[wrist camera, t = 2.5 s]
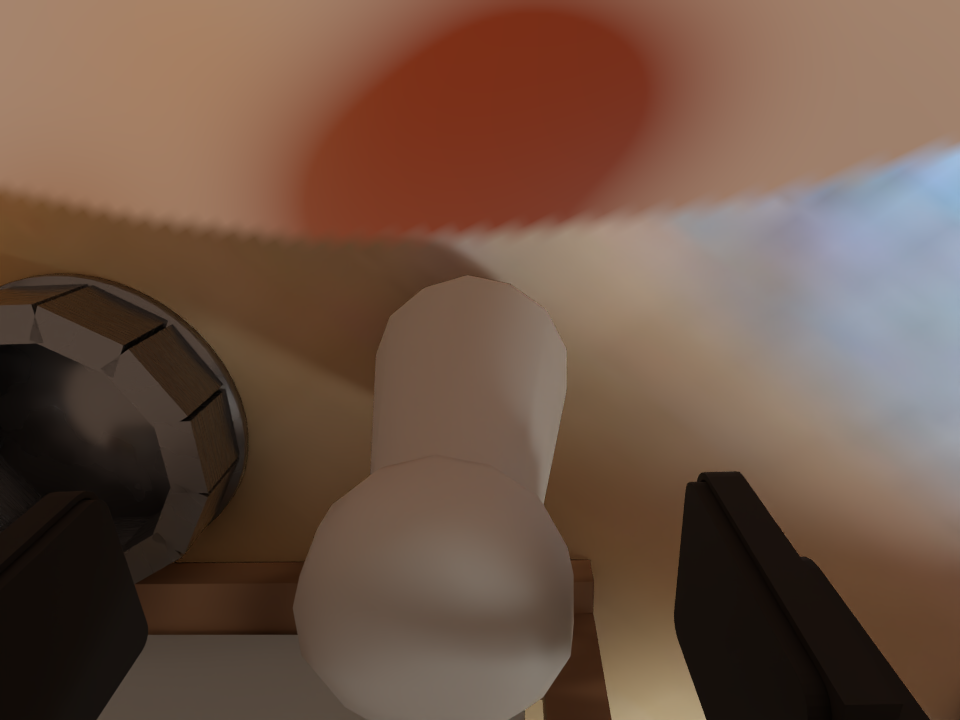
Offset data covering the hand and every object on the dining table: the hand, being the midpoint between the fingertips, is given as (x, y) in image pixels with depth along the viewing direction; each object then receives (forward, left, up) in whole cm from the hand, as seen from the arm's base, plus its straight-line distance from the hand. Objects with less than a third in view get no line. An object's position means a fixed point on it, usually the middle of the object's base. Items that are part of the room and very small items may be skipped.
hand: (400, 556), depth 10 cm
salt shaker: (-1, 0, -12) cm, 12 cm away
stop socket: (+13, +3, -11) cm, 18 cm away
